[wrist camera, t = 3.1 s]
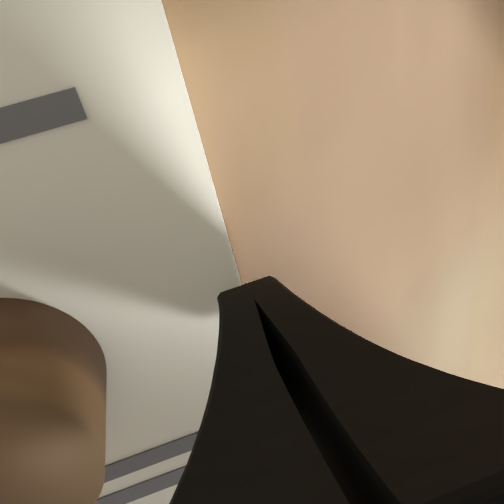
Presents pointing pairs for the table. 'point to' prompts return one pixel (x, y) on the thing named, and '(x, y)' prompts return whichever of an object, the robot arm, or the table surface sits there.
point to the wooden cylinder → (50, 407)
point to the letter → (115, 219)
